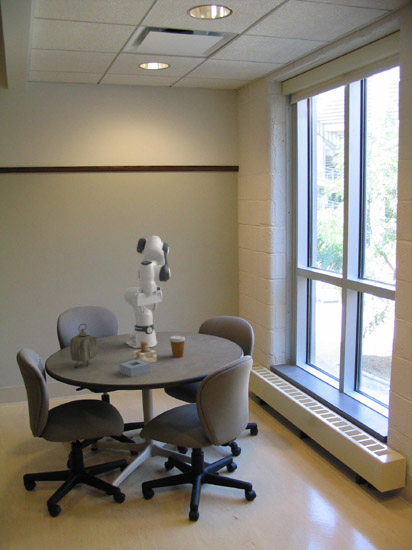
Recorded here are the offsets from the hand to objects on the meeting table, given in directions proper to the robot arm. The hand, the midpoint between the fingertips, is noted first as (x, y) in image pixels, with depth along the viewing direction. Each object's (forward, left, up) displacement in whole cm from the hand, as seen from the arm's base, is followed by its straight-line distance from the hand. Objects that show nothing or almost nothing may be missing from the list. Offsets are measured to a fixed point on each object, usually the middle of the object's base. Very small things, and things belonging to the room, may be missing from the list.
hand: (148, 311), depth 334 cm
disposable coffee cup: (+5, +16, -30) cm, 34 cm away
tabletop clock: (-19, -34, -30) cm, 49 cm away
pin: (-1, -4, -29) cm, 30 cm away
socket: (+13, -20, -29) cm, 38 cm away
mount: (-1, -4, -29) cm, 30 cm away
